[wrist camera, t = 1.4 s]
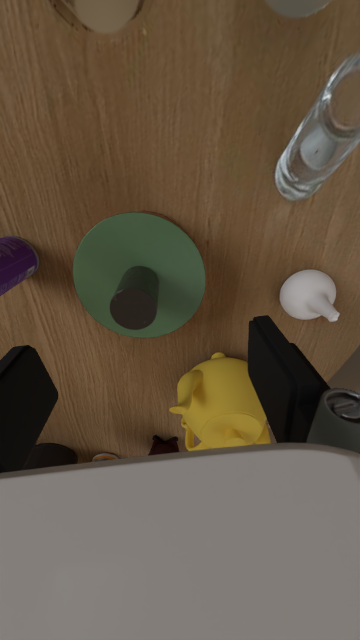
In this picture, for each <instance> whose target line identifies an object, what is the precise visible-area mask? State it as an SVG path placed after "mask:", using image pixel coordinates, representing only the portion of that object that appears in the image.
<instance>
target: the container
mask: <svg viewBox="0 0 360 640" xmlns="http://www.w3.org/2000/svg"><path fill="white" fill-rule="evenodd" d="M38 267H39V257H38V254H37V252H36V250H35V249H34V248H33V247H32V245H31V244H29V243H28V242H27V241H25V240H24V239H22V238H19V237H15V236H7V237H3V238H0V296H1V295H2V294H4V293H5V292H7V291H8V290H10V289H11V288H13V287H14V286H16V285H17V284H19V283H20V282H22V281H23V280H25V279H26V278H28V277H29V276H31V275H32V274H34V273H35V272H36V271H37V269H38Z"/></svg>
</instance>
